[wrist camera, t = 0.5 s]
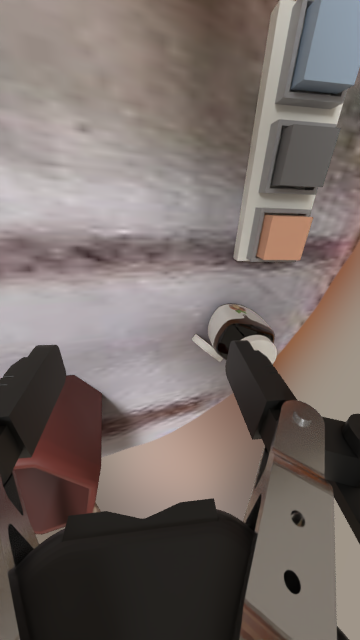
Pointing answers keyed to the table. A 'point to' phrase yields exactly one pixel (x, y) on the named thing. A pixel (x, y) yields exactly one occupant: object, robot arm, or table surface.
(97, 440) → the bucket
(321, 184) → the charcoal key
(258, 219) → the key panel
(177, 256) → the table surface
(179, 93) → the table surface
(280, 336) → the table surface
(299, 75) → the slate key
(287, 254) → the terracotta key
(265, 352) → the spread jar
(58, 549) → the robot arm
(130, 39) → the table surface
